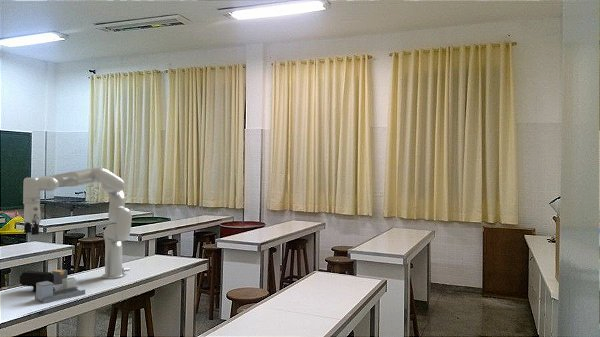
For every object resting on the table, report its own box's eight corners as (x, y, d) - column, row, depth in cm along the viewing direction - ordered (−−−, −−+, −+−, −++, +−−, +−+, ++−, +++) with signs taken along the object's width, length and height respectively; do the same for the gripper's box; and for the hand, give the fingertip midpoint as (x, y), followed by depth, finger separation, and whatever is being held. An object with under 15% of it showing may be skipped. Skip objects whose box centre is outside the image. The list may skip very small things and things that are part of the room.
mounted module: (47, 295, 211) (47, 280, 211) (53, 298, 207) (53, 283, 207) (35, 298, 207) (36, 283, 207) (41, 300, 203) (42, 285, 203)
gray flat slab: (76, 290, 224) (76, 286, 224) (85, 294, 218) (85, 289, 218) (34, 299, 208) (34, 295, 208) (43, 303, 202) (43, 299, 202)
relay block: (60, 281, 242) (60, 269, 242) (67, 282, 240) (67, 270, 240) (52, 283, 238) (52, 271, 238) (59, 284, 235) (59, 272, 235)
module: (71, 288, 228) (71, 276, 228) (76, 290, 225) (76, 278, 225) (62, 290, 225) (62, 278, 225) (67, 292, 221) (67, 280, 221)
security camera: (48, 294, 217) (48, 275, 217) (18, 292, 220) (18, 273, 220) (58, 290, 223) (58, 272, 223) (29, 288, 227) (29, 270, 227)
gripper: (46, 201, 217) (46, 234, 217) (33, 199, 227) (32, 231, 227) (30, 202, 211) (29, 236, 211) (17, 200, 222) (17, 232, 221)
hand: (31, 233), depth 219 cm, fingers open, 9 cm apart
